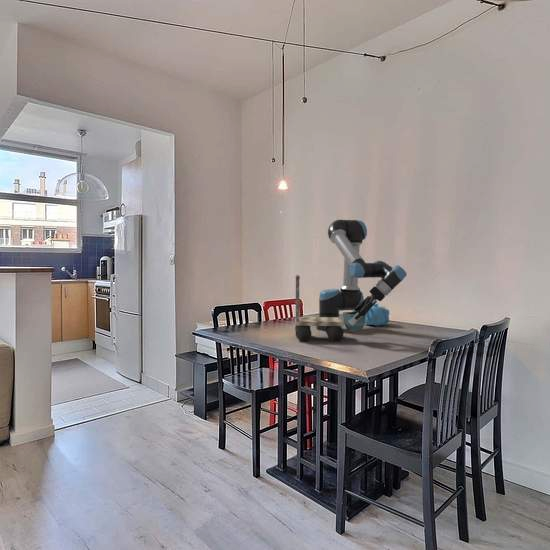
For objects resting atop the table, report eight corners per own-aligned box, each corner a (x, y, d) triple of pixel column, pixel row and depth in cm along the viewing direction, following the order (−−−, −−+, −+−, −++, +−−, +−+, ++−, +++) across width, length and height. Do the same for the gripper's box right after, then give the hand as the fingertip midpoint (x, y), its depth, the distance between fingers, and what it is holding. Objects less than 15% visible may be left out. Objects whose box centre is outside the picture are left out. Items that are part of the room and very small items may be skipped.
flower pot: (342, 329, 204) (342, 312, 203) (357, 328, 206) (357, 311, 206) (350, 332, 195) (350, 314, 195) (366, 331, 198) (366, 313, 198)
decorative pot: (362, 327, 245) (362, 304, 245) (361, 322, 261) (361, 302, 260) (390, 327, 242) (390, 305, 242) (387, 323, 258) (387, 302, 258)
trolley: (339, 335, 216) (340, 274, 215) (343, 341, 200) (344, 276, 199) (295, 335, 217) (295, 274, 215) (295, 341, 201) (295, 275, 200)
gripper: (370, 284, 211) (340, 313, 212) (380, 287, 188) (346, 320, 189) (380, 294, 211) (350, 323, 212) (391, 298, 188) (357, 331, 189)
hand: (348, 322), depth 201 cm, fingers closed on flower pot, 11 cm apart
